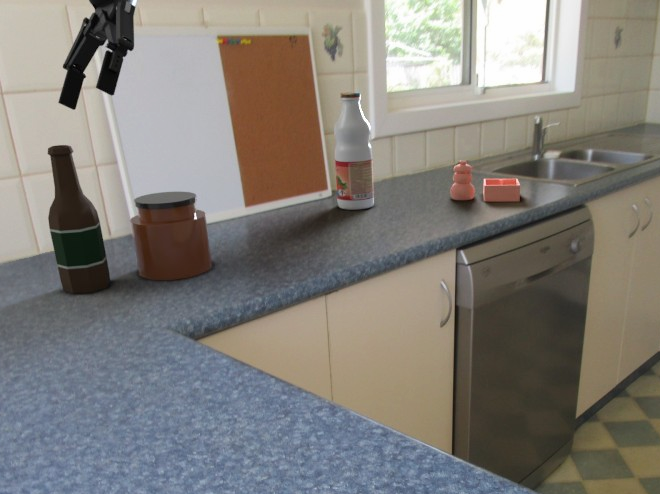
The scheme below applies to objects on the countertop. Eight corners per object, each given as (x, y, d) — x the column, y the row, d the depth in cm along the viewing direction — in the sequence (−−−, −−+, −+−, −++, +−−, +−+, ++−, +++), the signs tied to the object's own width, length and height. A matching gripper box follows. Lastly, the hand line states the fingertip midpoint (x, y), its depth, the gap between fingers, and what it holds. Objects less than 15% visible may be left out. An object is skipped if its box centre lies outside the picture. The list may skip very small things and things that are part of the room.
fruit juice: (369, 210, 166) (364, 93, 156) (333, 209, 167) (326, 94, 158) (378, 202, 174) (373, 91, 164) (343, 202, 176) (337, 91, 166)
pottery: (516, 194, 181) (518, 157, 177) (519, 201, 172) (520, 163, 168) (450, 194, 182) (450, 158, 179) (449, 201, 174) (449, 163, 170)
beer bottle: (116, 288, 114) (90, 146, 105) (66, 297, 110) (35, 150, 101) (106, 276, 120) (80, 141, 112) (59, 285, 116) (29, 146, 107)
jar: (138, 264, 127) (126, 194, 122) (207, 255, 131) (199, 187, 127) (139, 284, 116) (126, 208, 111) (216, 274, 120) (206, 200, 115)
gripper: (174, -21, 110) (144, 95, 106) (101, 18, 126) (73, 120, 122) (133, -50, 104) (99, 72, 101) (62, -6, 120) (31, 101, 116)
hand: (85, 99), depth 111 cm, fingers open, 13 cm apart
